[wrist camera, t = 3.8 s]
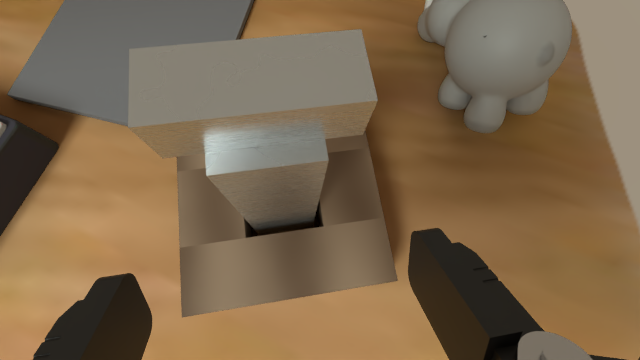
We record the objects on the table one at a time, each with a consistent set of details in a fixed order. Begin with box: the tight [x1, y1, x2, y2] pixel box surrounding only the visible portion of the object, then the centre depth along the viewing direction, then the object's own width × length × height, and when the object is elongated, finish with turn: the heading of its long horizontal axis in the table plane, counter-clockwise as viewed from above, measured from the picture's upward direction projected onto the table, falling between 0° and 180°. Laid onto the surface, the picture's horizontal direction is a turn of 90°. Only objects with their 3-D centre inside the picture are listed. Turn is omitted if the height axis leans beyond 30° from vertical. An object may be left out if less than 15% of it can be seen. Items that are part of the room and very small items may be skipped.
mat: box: [7, 0, 254, 126], centre depth 25 cm, size 14×14×1 cm
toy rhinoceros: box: [418, 0, 572, 133], centre depth 23 cm, size 7×12×8 cm, turn 22°
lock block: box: [177, 131, 398, 317], centre depth 21 cm, size 12×12×3 cm
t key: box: [128, 29, 378, 235], centre depth 15 cm, size 6×4×15 cm, turn 99°
